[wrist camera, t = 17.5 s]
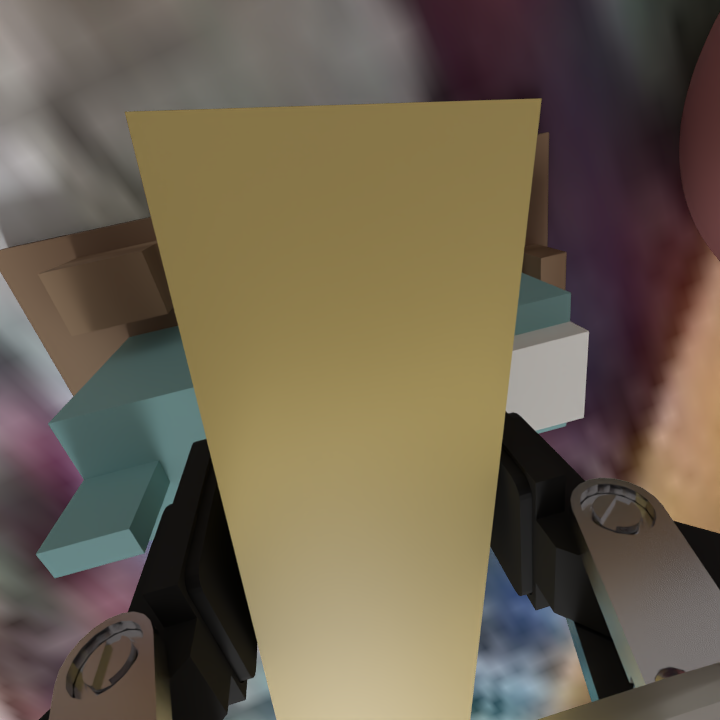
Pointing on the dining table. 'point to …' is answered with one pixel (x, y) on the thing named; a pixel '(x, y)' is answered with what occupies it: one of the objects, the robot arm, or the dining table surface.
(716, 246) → the balloon
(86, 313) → the jig
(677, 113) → the dining table surface
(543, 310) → the teal notched block
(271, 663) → the tan wooden bar
